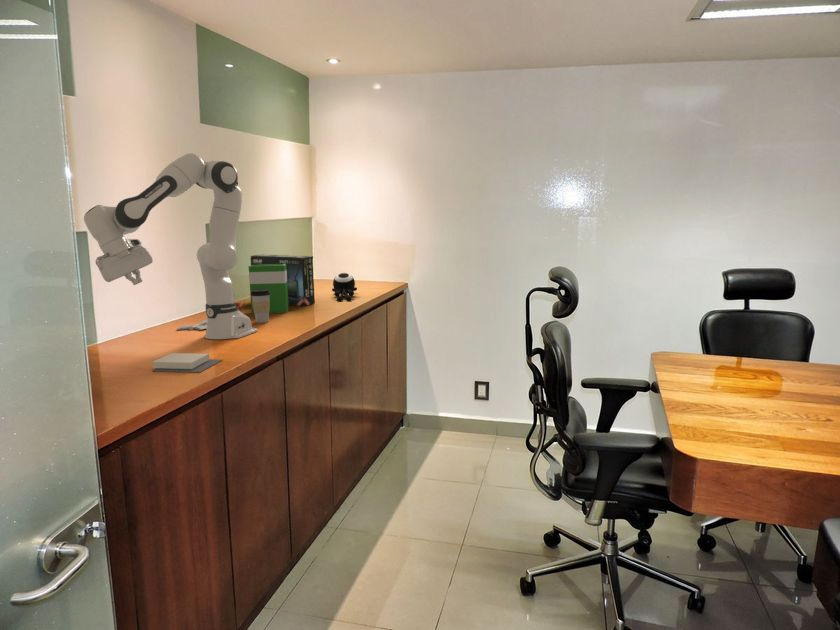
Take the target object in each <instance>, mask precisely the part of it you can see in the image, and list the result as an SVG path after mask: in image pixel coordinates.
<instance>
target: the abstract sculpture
mask: <svg viewBox="0 0 840 630" xmlns="http://www.w3.org/2000/svg"><path fill="white" fill-rule="evenodd" d="M332 286H333V287H332V288H331V291H332V292H334V293H333V294H334V297H337V298H336V301H337V302H339V303H340V302H342V301H343V295H344V296H345V300H346V301H347V302H351V301H352V297H353V296H354V295H355V291H357V290H358V288H357V287H356V281H355V278H354V277H353V276H352V275H351V274H350V273H346V272H342V273H339V274H337V275H336V276H335V277H334V278H333V281H332Z"/></svg>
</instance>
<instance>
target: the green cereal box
mask: <svg viewBox="0 0 840 630" xmlns="http://www.w3.org/2000/svg"><path fill="white" fill-rule="evenodd" d="M248 277H249V291H250V293H252V290H257V289H268V290H269V292H271V294H270V298H269V300H270V307H269V314H272V313H274V314H275V313H288V311H289V310H290V309H289V306H290V305H288V287H287V270H286V264H264V265H251V264H250V265H248ZM250 293H249V294H250ZM250 309H251V310H250V311H251V314H255V313H254V309H253V304H252V296H251V295H250Z"/></svg>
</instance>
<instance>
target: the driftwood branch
mask: <svg viewBox="0 0 840 630" xmlns="http://www.w3.org/2000/svg"><path fill="white" fill-rule="evenodd" d="M206 327H207V319H206V320H204V319H203V320H202V321H200V322H198V323H196V324H194V325H190V324H189V325H188V324H187V325H182V326H178V327H177V330H178V331H179V330H180V331H182V330H189V331H194V330H199V331H202V330H206Z"/></svg>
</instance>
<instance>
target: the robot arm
mask: <svg viewBox="0 0 840 630" xmlns="http://www.w3.org/2000/svg"><path fill="white" fill-rule="evenodd" d="M238 178H239V175H238V172H237V169H236V167H235V166H234V165H233V164H232V163H230V162H227V161H224V160H223V161H220V160H210V161H204V160H203V159H202V158H201V157H200V156H199V155H197V154H195V153H193V152H192V153H191V152H190V153H188V152H187V154H183V155H182V156H180V157H178V158H177V159H175V160H173V161H172V162H171V163H169V164H168V165H167V166H165V168H163V169H162V170H161V171H160V173H159V174H158V175H157V176H156V179H155V181H154V182H153V183H152V184H151V185H150V186H148V187H147V188H146V189H144V190H143V191H141V192H140V193H139V194H138V195H135V196H132V197H127V198H124V199H122V200H120V201H119V202H118V203H117V205H116V206H106V205H102V204H97V205H95V206H93V207H91V208H90V209H89V210H88V211H86V212H85V214H84V217H83V221H84V224H85V225H86V228H87V230H88V231H89V233H90V234H91V237H92V238H93V239H94V240H96V242H97V245H98V247H99V249H100V250H101V252H102V253H103V255H100V256H97V257H96V259H95V263H94V264H96V267H97V268H98V270H99V272H100V274H101V277H102V279H103V280H104V281H105V282H107V283H111V282H113V281H115V280H117V279H120V278H122V277H125V279H126V280H128V281H130V282H131V283H132V285H133V286H136V285H138V284H140V283H143V279H142V278H141V271H140V269H143V268H145V267H147V266H150V265H151V264H153V262H154V261H153V257H152V256H151V254H150V252H149V251H148V249H147V248H146V247H145V246H143V245H142V241H141V239H139V238H133V239H132V238H126V237H125V236H124V235H129V234H133V233H134V232H136V231H138V229H140V227H141V226H142V225H143V224H144V223H145V222H146V221H147V219H148V216H149V214H150V212H151V211H152V210H153V209H154V208H155V207H156V206H157V205H158V204H160V203H161V202H163V201H164V200H165V199H166V198H168V197H169V198H176V197H179V196H180V195H183V194H184V193H186V192H187V191H188V190H189V189H190V188H192V187H193V186H194V185H195V184H196V185H197V186H199V188H202V189H209V190H212V191H213V194H214V198H213V199H214V200H213V203H212V208H211V211H210V216H209V217H210V218H209V222H208V230H209V242H206V243H205V244H202V245H201V246H200V247H199V248H198V249H197V252H196V259H197V261H198V263H199V267H200V272H201V276H202V279H203V283H204V292H205V300H206V301H205V302H206V303H205V312H206V320H207V324H206V325H207V327H206V329H205V335H204V337H205V338H206V339H208V340H228V339H240V338H243V337H245V336H248V335H250V334H253V333H256V332H258V328H256V327H252V322H251V318H250V317H249V316H248V315H246V314H244V313H243V312H242V311H240V310H239V308H241V307H243V303H242V301H237V302H235V298H234V297H235V294H234V284H233V283H234V282H233V281H232V279H231V276H230V273H229V271H230V270H232V269H233V268H234V267H235V266H236V265H238V264H237V263H238V259H239V257H238V256H239V255H238V253H237V231H238V226H239V225H238V224H239V219H240V216H241V211H242V203H243V201H242V199H243V198H242V197H243V196H242V195H243V193H242V190H241V188H240V187H239V186H238V185H239V182H238V181H239V179H238ZM134 275H135V277H134Z"/></svg>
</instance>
